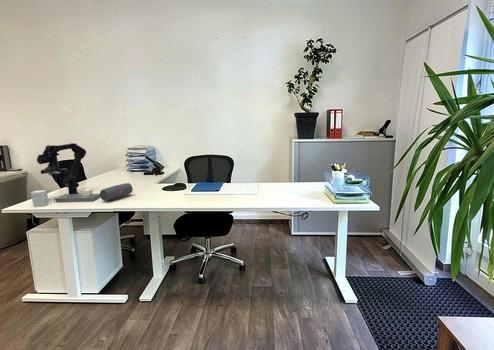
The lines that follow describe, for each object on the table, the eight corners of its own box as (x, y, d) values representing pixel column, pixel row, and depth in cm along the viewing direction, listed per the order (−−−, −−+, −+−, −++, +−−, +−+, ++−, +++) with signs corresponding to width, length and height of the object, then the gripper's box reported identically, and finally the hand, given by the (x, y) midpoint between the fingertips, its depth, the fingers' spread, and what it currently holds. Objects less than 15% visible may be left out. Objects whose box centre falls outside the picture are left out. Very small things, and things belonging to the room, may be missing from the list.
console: (65, 197, 239) (65, 194, 238) (101, 197, 238) (100, 193, 237) (55, 202, 227) (55, 198, 227) (92, 201, 226) (92, 197, 225)
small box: (49, 204, 224) (46, 190, 221) (44, 206, 218) (42, 191, 216) (38, 204, 223) (35, 190, 221) (33, 206, 218) (30, 192, 216)
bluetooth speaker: (108, 203, 221) (106, 189, 219) (100, 201, 226) (98, 188, 224) (134, 195, 240) (132, 182, 238) (125, 194, 245) (124, 181, 243)
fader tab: (86, 194, 233) (85, 189, 233) (92, 194, 233) (92, 189, 232) (83, 196, 230) (82, 190, 229) (90, 195, 229) (89, 190, 229)
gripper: (33, 164, 224) (37, 185, 227) (58, 163, 223) (61, 184, 226) (44, 161, 235) (47, 181, 238) (67, 161, 234) (70, 181, 237)
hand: (56, 182), depth 235 cm, fingers closed
